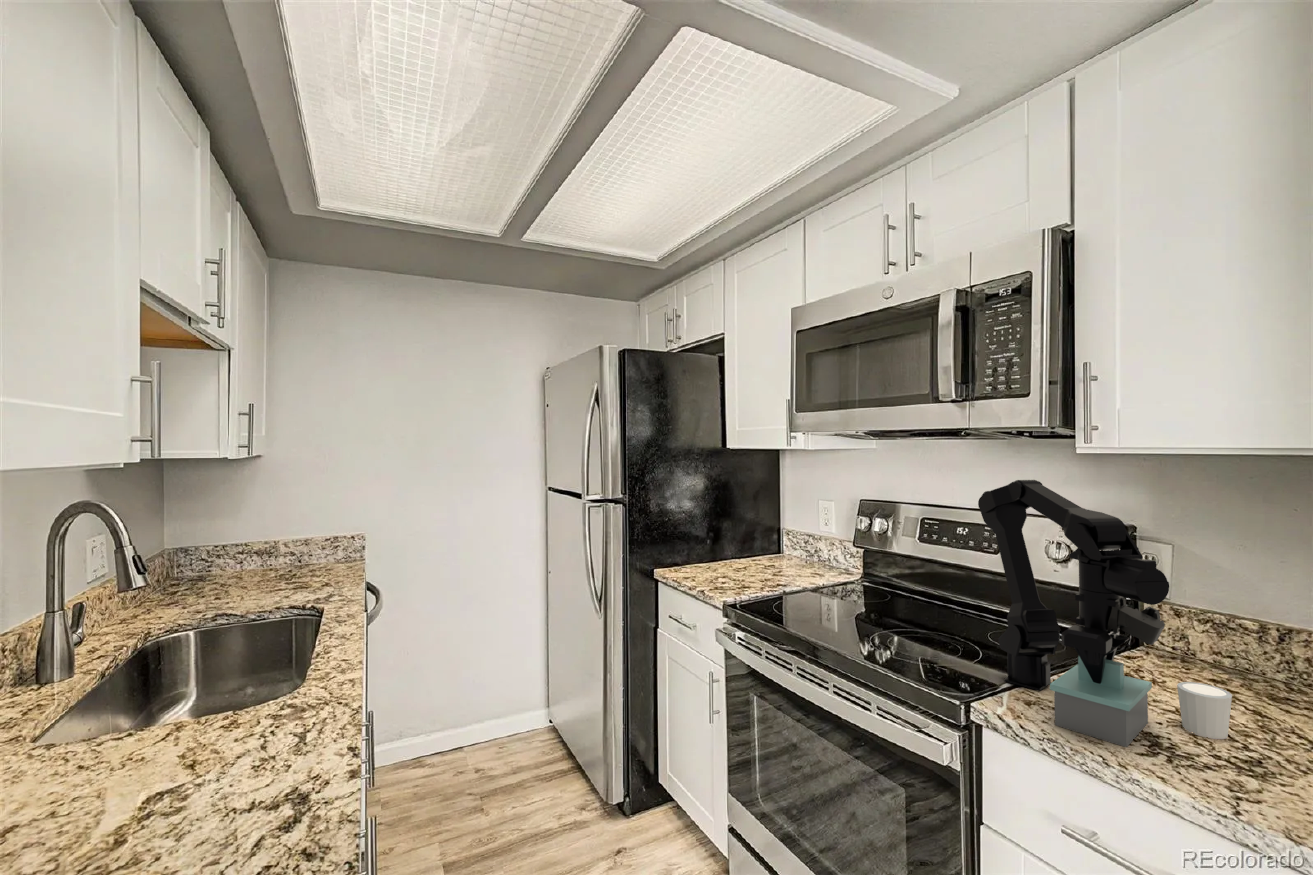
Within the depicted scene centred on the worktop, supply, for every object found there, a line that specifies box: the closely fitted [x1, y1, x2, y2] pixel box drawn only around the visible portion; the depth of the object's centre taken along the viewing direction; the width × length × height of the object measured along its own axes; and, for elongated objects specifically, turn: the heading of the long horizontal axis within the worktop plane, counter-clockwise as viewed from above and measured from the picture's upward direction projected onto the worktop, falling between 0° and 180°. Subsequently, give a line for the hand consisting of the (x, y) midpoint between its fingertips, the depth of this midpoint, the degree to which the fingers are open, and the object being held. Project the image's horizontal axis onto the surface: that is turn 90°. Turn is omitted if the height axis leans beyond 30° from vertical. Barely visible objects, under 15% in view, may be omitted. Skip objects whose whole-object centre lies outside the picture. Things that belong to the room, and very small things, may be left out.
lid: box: [1049, 655, 1153, 711], centre depth 104 cm, size 11×14×6 cm
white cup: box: [1176, 681, 1233, 740], centre depth 101 cm, size 7×7×7 cm
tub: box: [1053, 691, 1149, 748], centre depth 104 cm, size 10×13×6 cm
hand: (1100, 680), depth 104 cm, fingers open, 4 cm apart
